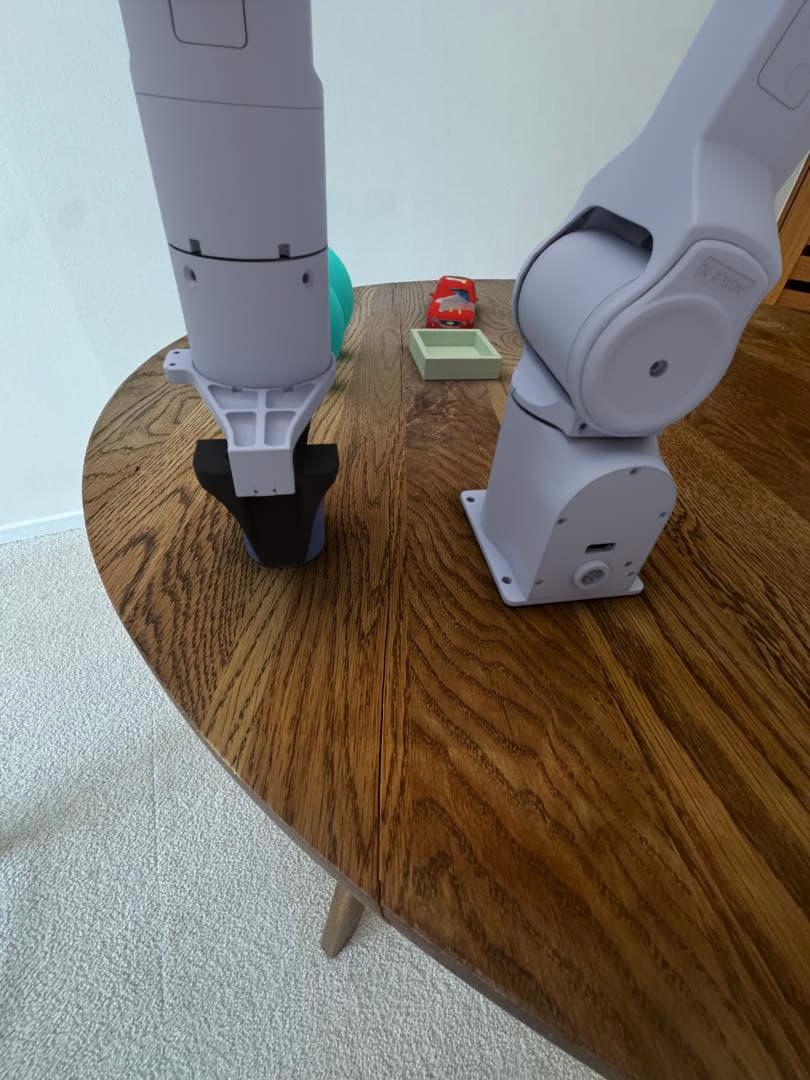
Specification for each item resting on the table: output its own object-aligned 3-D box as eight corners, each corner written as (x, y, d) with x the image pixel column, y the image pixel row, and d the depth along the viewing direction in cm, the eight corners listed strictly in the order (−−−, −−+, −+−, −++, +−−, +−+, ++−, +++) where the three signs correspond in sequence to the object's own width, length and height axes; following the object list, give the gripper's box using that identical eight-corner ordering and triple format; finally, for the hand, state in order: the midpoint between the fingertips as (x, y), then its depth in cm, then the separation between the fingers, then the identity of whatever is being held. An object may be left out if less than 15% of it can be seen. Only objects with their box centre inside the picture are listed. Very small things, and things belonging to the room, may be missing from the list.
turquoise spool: (355, 349, 50) (355, 233, 43) (342, 396, 42) (341, 264, 35) (253, 341, 49) (238, 223, 43) (222, 386, 42) (198, 251, 35)
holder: (498, 379, 47) (502, 358, 46) (423, 380, 46) (425, 358, 44) (476, 348, 52) (479, 328, 51) (408, 348, 51) (410, 328, 49)
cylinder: (327, 564, 27) (324, 507, 25) (243, 571, 27) (231, 512, 24) (322, 513, 31) (319, 458, 28) (247, 518, 30) (237, 461, 27)
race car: (472, 344, 53) (478, 304, 50) (421, 338, 53) (424, 298, 51) (477, 304, 63) (483, 269, 60) (434, 299, 63) (438, 264, 60)
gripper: (166, 199, 23) (218, 452, 32) (73, 305, 13) (189, 635, 22) (321, 207, 24) (329, 448, 33) (353, 308, 14) (352, 619, 23)
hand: (283, 521), depth 28 cm, fingers open, 6 cm apart
